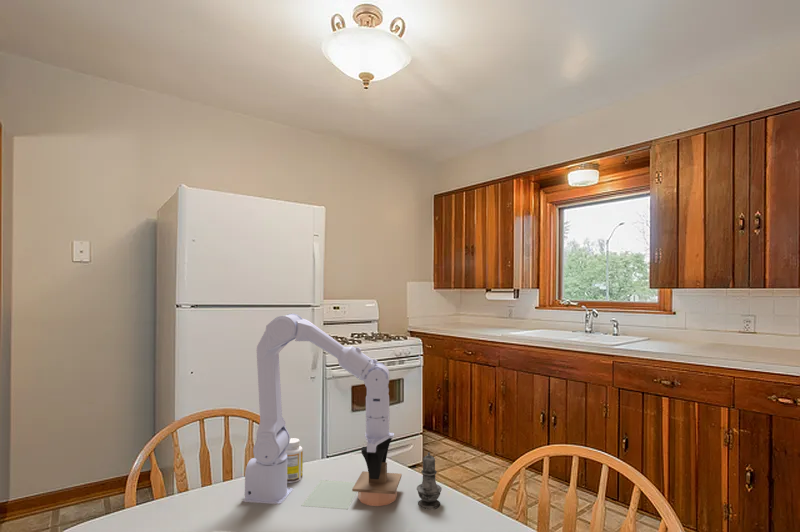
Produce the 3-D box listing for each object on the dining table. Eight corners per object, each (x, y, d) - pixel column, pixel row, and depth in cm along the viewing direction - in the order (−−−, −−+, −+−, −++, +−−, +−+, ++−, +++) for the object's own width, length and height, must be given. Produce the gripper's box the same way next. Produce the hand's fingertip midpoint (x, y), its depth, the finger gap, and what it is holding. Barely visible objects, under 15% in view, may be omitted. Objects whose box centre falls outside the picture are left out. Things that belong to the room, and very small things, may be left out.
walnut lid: (352, 491, 105) (352, 471, 105) (362, 473, 115) (362, 455, 115) (395, 494, 104) (394, 473, 104) (401, 476, 113) (401, 457, 114)
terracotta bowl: (354, 505, 105) (354, 490, 105) (363, 488, 114) (363, 474, 114) (392, 508, 104) (392, 493, 104) (399, 491, 113) (398, 476, 113)
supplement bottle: (292, 473, 124) (292, 435, 124) (306, 478, 120) (307, 439, 121) (276, 481, 119) (276, 441, 119) (290, 486, 116) (291, 445, 116)
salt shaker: (440, 511, 103) (439, 457, 103) (414, 508, 104) (414, 455, 104) (443, 499, 108) (442, 448, 109) (418, 497, 110) (418, 446, 110)
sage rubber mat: (301, 507, 105) (301, 505, 105) (320, 481, 118) (320, 480, 119) (347, 510, 103) (347, 509, 103) (362, 484, 117) (362, 482, 117)
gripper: (388, 424, 102) (388, 486, 102) (398, 407, 117) (398, 461, 116) (357, 423, 103) (357, 484, 103) (371, 406, 118) (371, 460, 117)
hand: (377, 472), depth 109 cm, fingers open, 6 cm apart
